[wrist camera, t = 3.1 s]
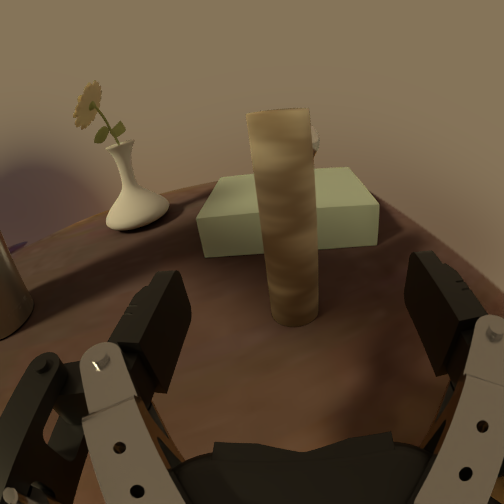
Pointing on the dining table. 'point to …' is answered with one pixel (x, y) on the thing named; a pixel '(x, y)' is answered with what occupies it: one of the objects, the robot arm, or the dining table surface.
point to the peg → (287, 210)
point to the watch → (501, 469)
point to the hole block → (327, 205)
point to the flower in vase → (120, 169)
